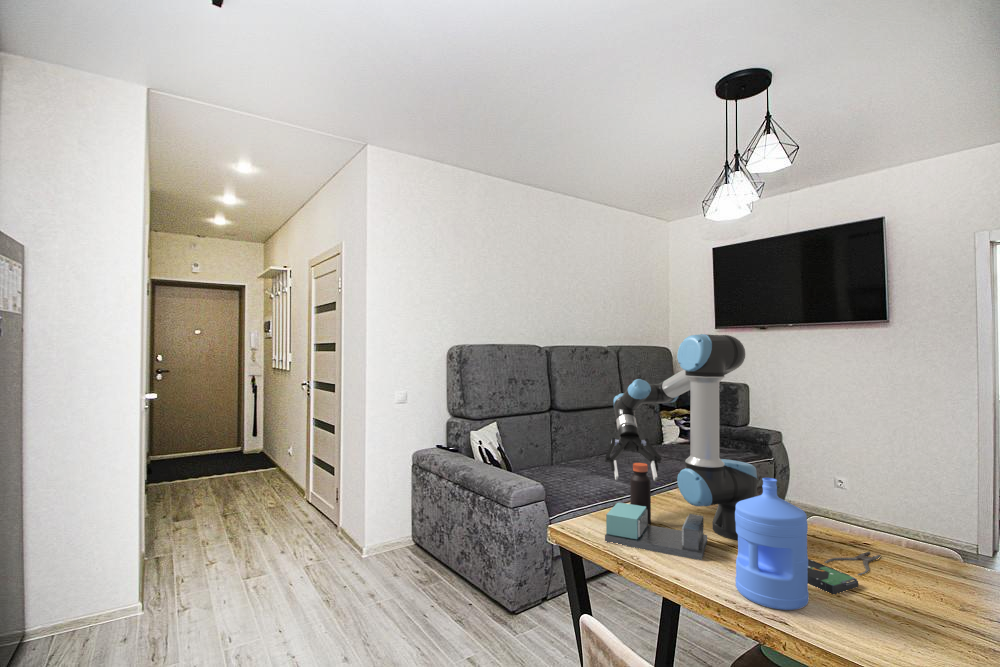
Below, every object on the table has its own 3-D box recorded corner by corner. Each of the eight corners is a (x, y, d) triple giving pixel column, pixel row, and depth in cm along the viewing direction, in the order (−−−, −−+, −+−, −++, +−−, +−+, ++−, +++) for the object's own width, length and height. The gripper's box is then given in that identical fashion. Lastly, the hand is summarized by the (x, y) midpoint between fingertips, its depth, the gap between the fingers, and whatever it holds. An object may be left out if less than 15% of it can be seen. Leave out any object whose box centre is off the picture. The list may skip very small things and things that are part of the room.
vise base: (707, 541, 154) (707, 515, 154) (701, 560, 140) (701, 532, 140) (618, 525, 167) (618, 502, 167) (604, 541, 153) (604, 515, 153)
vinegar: (652, 521, 171) (652, 463, 172) (647, 527, 166) (647, 467, 166) (633, 518, 175) (633, 461, 176) (627, 523, 169) (627, 465, 170)
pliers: (822, 563, 137) (842, 544, 151) (822, 566, 137) (842, 547, 151) (864, 575, 130) (882, 554, 143) (864, 578, 130) (882, 557, 143)
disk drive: (777, 573, 134) (834, 597, 120) (777, 562, 134) (834, 585, 120) (801, 566, 138) (859, 588, 125) (801, 555, 138) (859, 577, 125)
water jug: (761, 575, 131) (760, 469, 132) (823, 602, 117) (821, 483, 118) (721, 587, 124) (720, 475, 125) (781, 618, 110) (780, 491, 111)
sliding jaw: (648, 525, 161) (648, 506, 162) (638, 539, 149) (638, 519, 149) (617, 520, 166) (617, 502, 166) (606, 533, 154) (606, 514, 154)
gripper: (658, 435, 192) (669, 485, 177) (594, 434, 193) (599, 483, 178) (662, 424, 187) (674, 473, 171) (595, 423, 188) (601, 472, 173)
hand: (636, 478), depth 175 cm, fingers open, 13 cm apart
